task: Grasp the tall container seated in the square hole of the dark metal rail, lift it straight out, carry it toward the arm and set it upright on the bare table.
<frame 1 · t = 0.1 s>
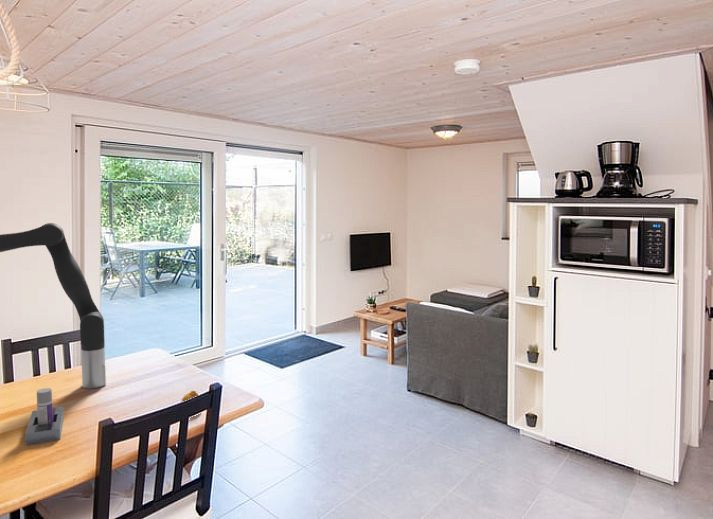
container: (46, 430, 174), resting in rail
fruit: (191, 410, 194), on the table
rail: (46, 430, 174), on the table
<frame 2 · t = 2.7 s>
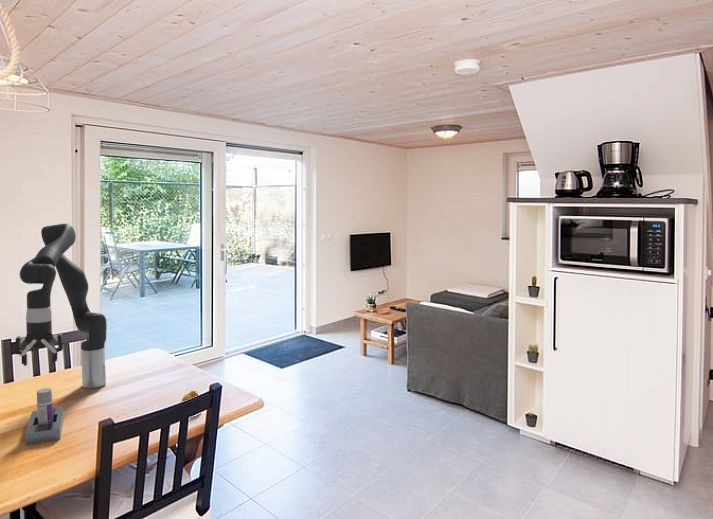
hand: (39, 364, 172), 24 cm above the table, fingers open, 8 cm apart
nothing on the table moved.
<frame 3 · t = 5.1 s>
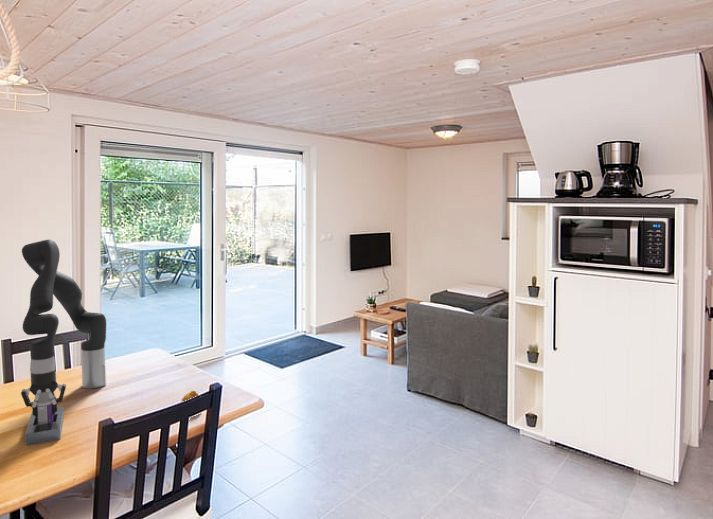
hand: (45, 414, 173), 6 cm above the table, fingers closed on container, 4 cm apart
container: (46, 430, 174), resting in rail, touching gripper
everything else where it was.
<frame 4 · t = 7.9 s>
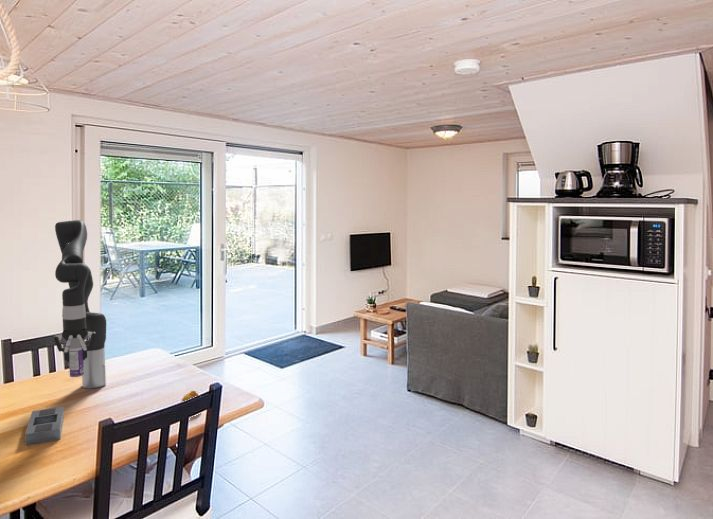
hand: (76, 360, 181), 23 cm above the table, fingers closed on container, 4 cm apart
container: (76, 375, 182), point 17 cm above the table, touching gripper
everything else where it was.
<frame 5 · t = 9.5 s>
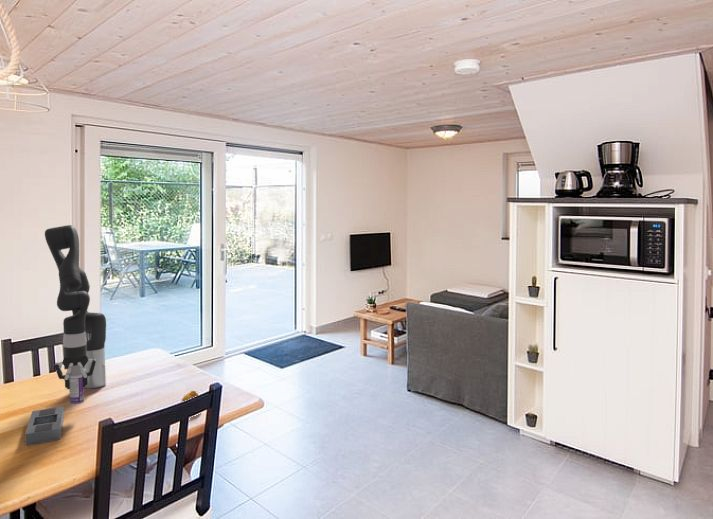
hand: (76, 387, 182), 12 cm above the table, fingers closed on container, 4 cm apart
container: (77, 402, 183), point 6 cm above the table, touching gripper
everything else where it was.
when the fingers open (7 cm above the table, at t = 10.9 s): container stays where it is, on the table.
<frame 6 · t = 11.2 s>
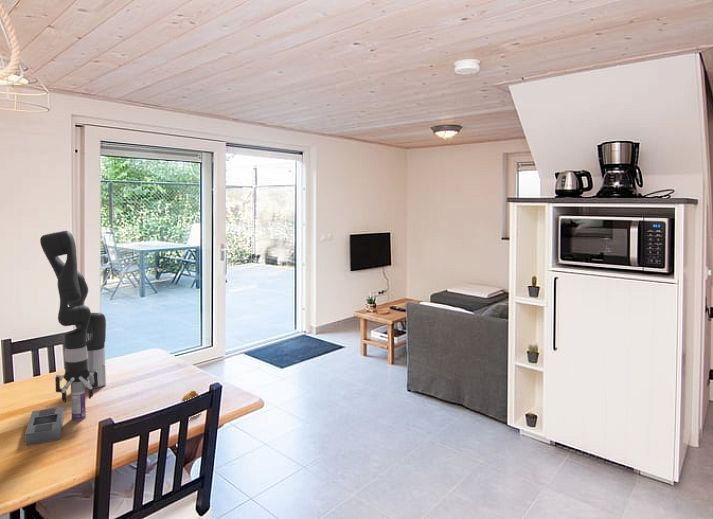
hand: (77, 399, 183), 7 cm above the table, fingers open, 7 cm apart
container: (78, 418, 184), on the table
everything else where it was.
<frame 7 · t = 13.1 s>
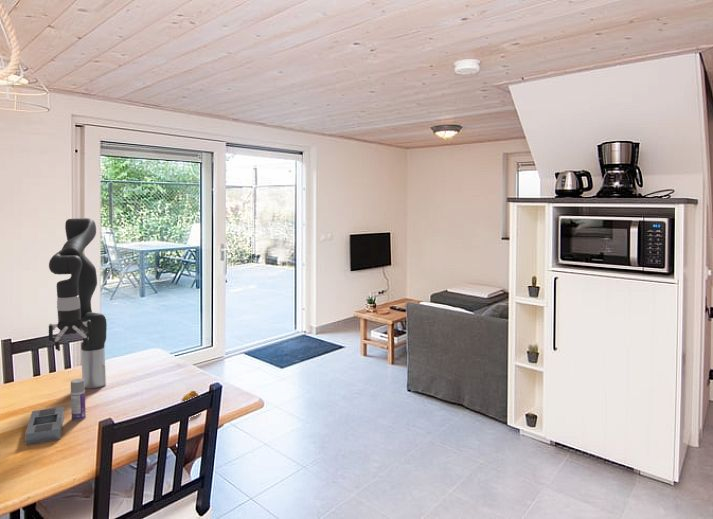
hand: (71, 348, 185), 26 cm above the table, fingers open, 8 cm apart
nothing on the table moved.
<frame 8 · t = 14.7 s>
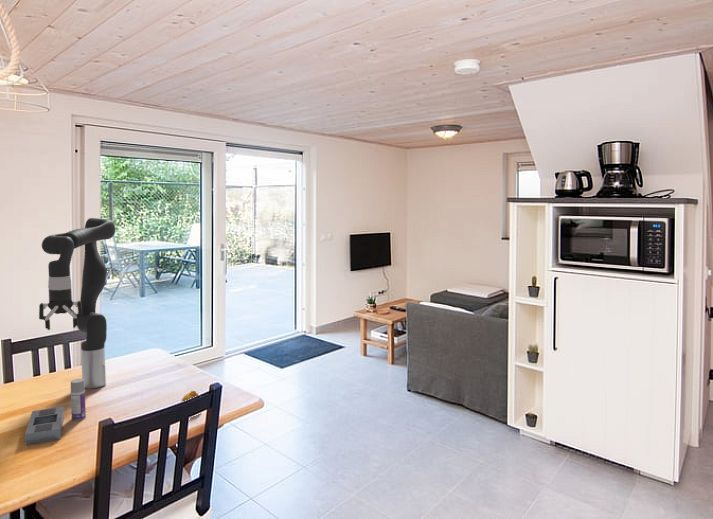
hand: (61, 328, 187), 33 cm above the table, fingers open, 8 cm apart
nothing on the table moved.
at the end: container inside the target area (0.1 cm from its centre), on the table; container tilted 0°; the gripper is holding nothing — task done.
